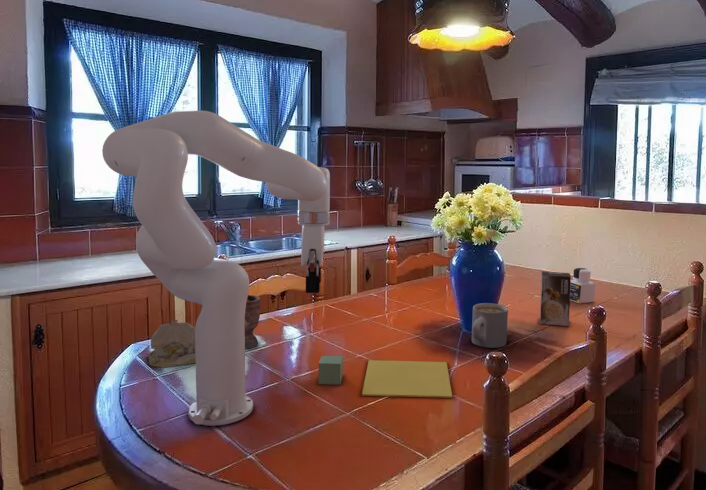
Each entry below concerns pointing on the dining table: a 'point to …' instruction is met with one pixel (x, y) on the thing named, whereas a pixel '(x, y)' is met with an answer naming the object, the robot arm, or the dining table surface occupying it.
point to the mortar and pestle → (251, 320)
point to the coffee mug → (489, 325)
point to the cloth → (407, 379)
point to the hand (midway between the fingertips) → (313, 287)
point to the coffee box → (555, 298)
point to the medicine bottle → (582, 286)
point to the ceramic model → (173, 345)
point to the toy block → (330, 370)
